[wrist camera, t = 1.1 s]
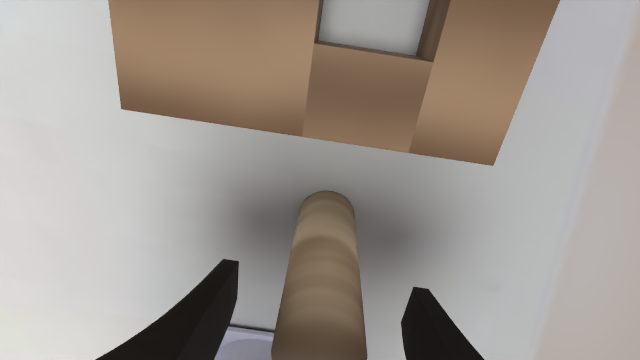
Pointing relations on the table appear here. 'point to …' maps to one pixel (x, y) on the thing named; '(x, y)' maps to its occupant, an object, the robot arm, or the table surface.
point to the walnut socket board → (332, 72)
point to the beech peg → (322, 286)
